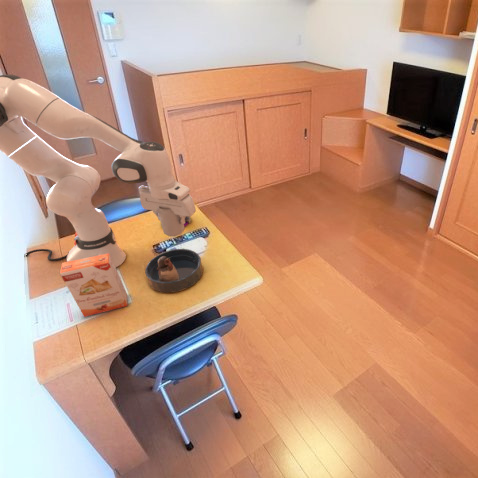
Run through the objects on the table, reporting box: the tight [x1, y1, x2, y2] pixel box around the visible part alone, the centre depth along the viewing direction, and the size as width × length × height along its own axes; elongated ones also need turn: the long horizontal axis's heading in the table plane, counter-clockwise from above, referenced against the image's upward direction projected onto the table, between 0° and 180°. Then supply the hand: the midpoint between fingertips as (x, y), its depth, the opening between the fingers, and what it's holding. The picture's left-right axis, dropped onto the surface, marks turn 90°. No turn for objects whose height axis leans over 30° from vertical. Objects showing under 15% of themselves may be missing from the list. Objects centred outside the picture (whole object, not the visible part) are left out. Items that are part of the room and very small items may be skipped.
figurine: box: [157, 256, 180, 282], centre depth 133 cm, size 7×7×12 cm
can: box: [158, 207, 185, 237], centre depth 130 cm, size 8×8×12 cm
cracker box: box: [59, 253, 129, 318], centre depth 120 cm, size 14×6×21 cm, turn 114°
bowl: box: [144, 248, 204, 294], centre depth 138 cm, size 20×20×6 cm
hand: (172, 221), depth 131 cm, fingers closed on can, 7 cm apart
